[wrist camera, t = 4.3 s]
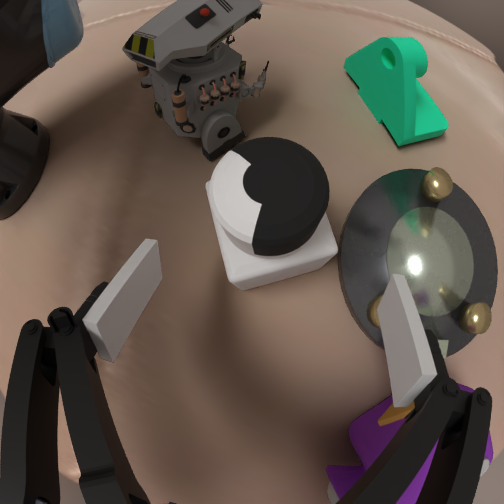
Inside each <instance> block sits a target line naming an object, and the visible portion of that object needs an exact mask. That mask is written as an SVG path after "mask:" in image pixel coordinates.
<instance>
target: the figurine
mask: <svg viewBox="0 0 504 504" xmlns="http://www.w3.org/2000/svg"><path fill="white" fill-rule="evenodd" d="M262 5H263V4H262V3H261V2H260V1H259V0H177V1H176V2H174V3H173V4H171V5H170V6H168V7H167V8H166V9H164V10H163V11H161V12H160V13H159V14H157V15H156V16H155V17H153V18H152V19H151V20H149V21H148V22H147V23H145V24H144V25H143V26H142V27H140V28H139V29H138V30H137V31H135V32H134V33H133V34H132V35H131V37H130V38H129V39H128V41H127V42H126V44H125V45H124V47H123V48H122V50H123V51H124V52H125V54H126V55H127V56H128V57H129V58H130V59H131V60H132V61H135V62H137V68H138V71H139V74H140V78H141V85H142V87H143V88H148V87H150V86H153V90H154V95H155V99H156V102H155V103H153V105H154V107H155V113H156V114H157V115H158V117H159V118H163V119H164V120H165V122H166V123H167V124H168V125H169V126H170V127H171V128H172V130H173V131H174V132H175V133H176V134H177V135H178V136H185V137H196V138H200V137H202V143H203V148H202V150H203V154H204V155H205V157H206V158H207V159H208V160H209V161H211V160H213V159H216V158H217V157H218V155H220V154H223V153H224V152H225V151H226V150H227V149H229V148H230V147H233V146H235V144H236V143H237V142H241V141H242V139H243V138H245V137H246V136H245V134H244V132H243V131H242V130H241V127H240V124H239V122H238V120H237V119H236V113H237V109H238V103H239V98H240V99H245V98H247V97H248V96H249V95H251V96H253V97H259V96H260V94H259V92H260V90H261V88H262V89H263V88H264V84H265V80H266V70H267V67H268V63H269V61H268V62H267V65H266V66H265V69H263V72H262V74H261V75H259V77H258V81H257V83H254V84H253V87H249V86H247V85H246V84H245V83H244V82H243V81H241V80H240V79H244V75H245V65H246V61H242V55H240V54H239V53H237V52H236V51H234V50H233V49H231V48H230V47H229V44H231V43H232V42H234V41H235V39H234V36H233V40H231V41H229V37H230V36H232V35H231V34H232V33H233V32H234V31H236V30H237V29H238V28H240V27H241V26H242V25H244V24H245V23H246V22H248V21H249V20H251V19H252V18H254V19H256V18H258V19H260V18H261V14H259V12H260V9H261V7H262ZM226 37H227V40H226V43H225V44H224V43H222V42H221V41H223V40H224V39H225V38H226Z"/></svg>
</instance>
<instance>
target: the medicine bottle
mask: <svg viewBox="0 0 504 504" xmlns="http://www.w3.org/2000/svg"><path fill="white" fill-rule="evenodd" d="M206 191H207V196H208V200H209V204H210V208H211V212H212V217H213V221H214V225H215V229H216V233H217V237H218V241H219V245H220V249H221V253H222V257H223V261H224V265H225V269H226V273H227V277H228V280H229V281H230V282H231V283H232V284H234V285H235V286H236V287H238V288H239V289H241V290H248V289H252V288H255V287H259V286H263V285H266V284H270V283H273V282H277V281H280V280H284V279H287V278H291V277H294V276H298V275H301V274H305V273H308V272H312V271H315V270H318V269H320V268H321V267H322V266H323V265H324V264H326V263H327V262H328V261H329V260H330V259H331V258H332V257H333V256H335V255H336V254H337V252H338V247H337V244H336V241H335V238H334V235H333V232H332V229H331V226H330V223H329V220H328V217H327V214H326V209H327V206H328V201H329V182H328V179H327V175H326V173H325V171H324V168H323V167H322V165H321V163H320V162H319V161H318V159H317V158H316V157H315V156H314V155H313V154H312V153H311V152H310V151H309V150H307V149H306V148H304V147H303V146H301V145H299V144H297V143H295V142H293V141H290V140H287V139H282V138H276V137H262V138H256V139H252V140H248V141H246V142H243V143H241V144H239V145H237V146H235V147H234V148H233V149H231V150H230V151H229V152H227V153H226V154H225V155H224V156H223V157H222V159H221V160H220V161H219V162H218V164H217V166H216V167H215V169H214V172H213V174H212V177H211V180H209V181H207V183H206Z"/></svg>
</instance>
